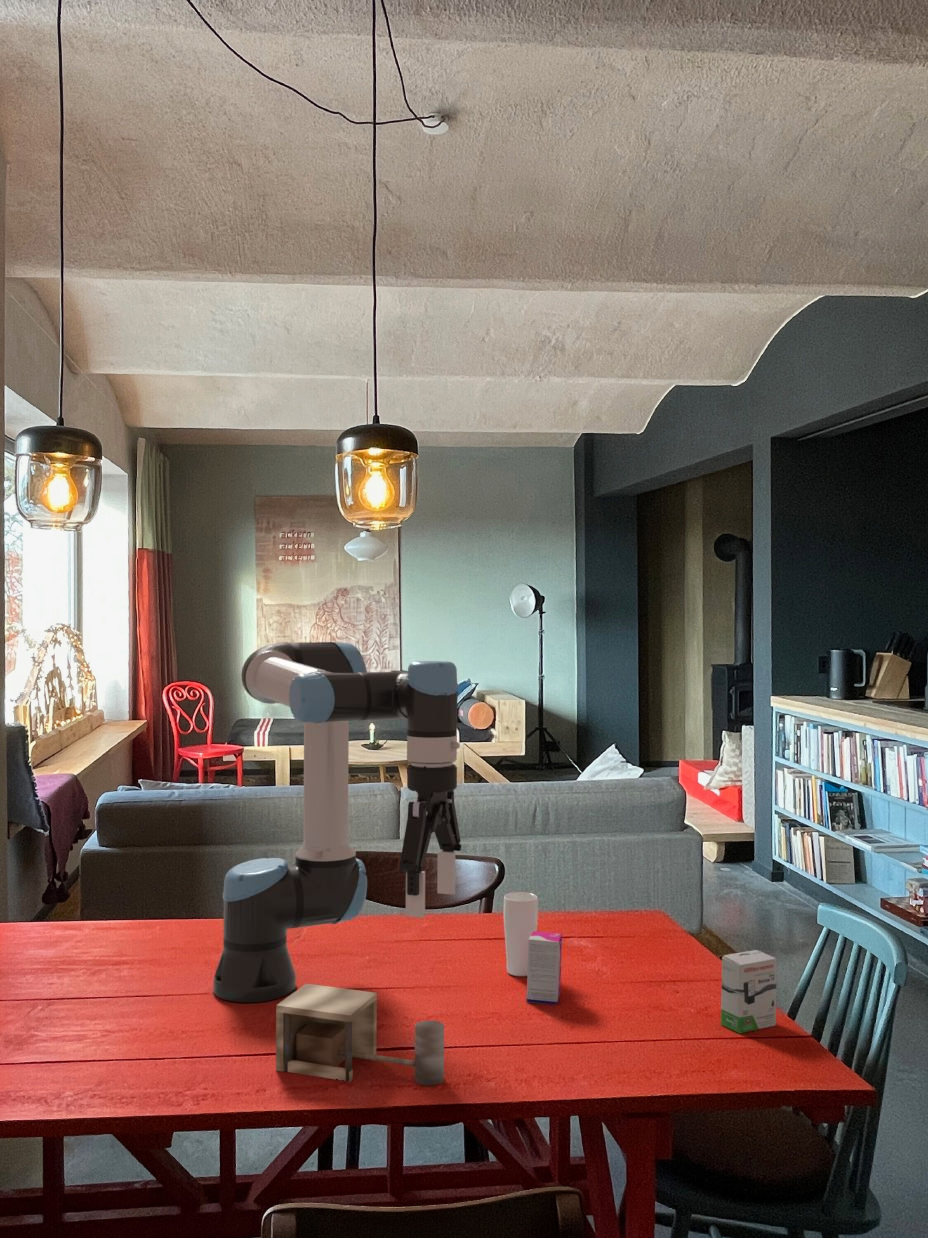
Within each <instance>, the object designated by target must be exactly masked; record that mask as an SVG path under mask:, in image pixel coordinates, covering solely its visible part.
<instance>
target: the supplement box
mask: <svg viewBox="0 0 928 1238" xmlns="http://www.w3.org/2000/svg"><path fill="white" fill-rule="evenodd" d="M562 943H563V934H562V933H558V932H547V931H546V932H545V931H533V932H532V933H531V936H530V938H529V943H528V975H527V976H526V977H527V978H526V979H527V980H526V981H527V982H526V1003H532V1004H544V1005H555V1006H556V1005H558V1003H559V1002H558V1001H559V998H560V996H561V985H562V984H561V983H562V981H561V980H562V979H561V978H562V952H563V951H562V950H563V949H562V948H563V947H562V946H563V944H562Z"/></svg>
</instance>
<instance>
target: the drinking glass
mask: <svg viewBox="0 0 928 1238" xmlns="http://www.w3.org/2000/svg"><path fill="white" fill-rule="evenodd" d="M538 898H539V897H538V896H537V895H536V894H534V893H530V892H523V891H522V892H519V891H517V892H509V893H506V894H505V895H504V896H503V911H502V912H503V928H504V929H503V931H504V941H505V955H506V971H507V973H508V974H509V975H511V976H514V977H527V975H528V943H529V938H530V936H531V933H532V932H533V931H537V930H538V920H539V903H538V900H539V899H538Z"/></svg>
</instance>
